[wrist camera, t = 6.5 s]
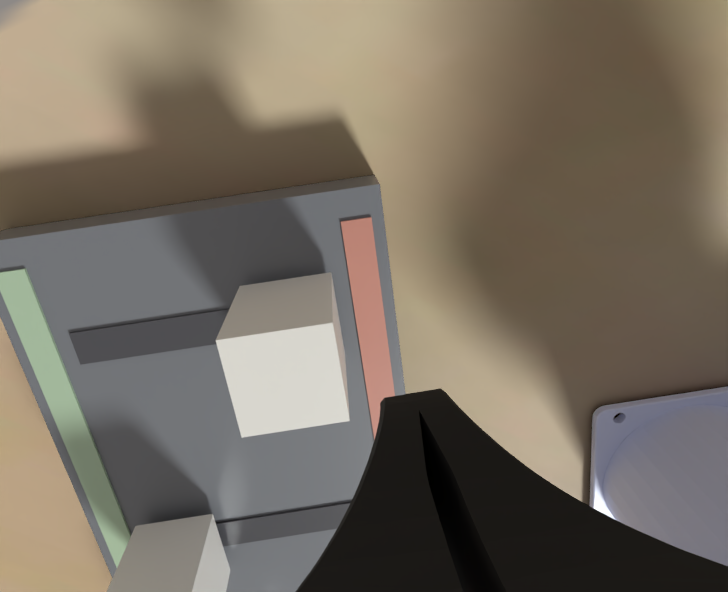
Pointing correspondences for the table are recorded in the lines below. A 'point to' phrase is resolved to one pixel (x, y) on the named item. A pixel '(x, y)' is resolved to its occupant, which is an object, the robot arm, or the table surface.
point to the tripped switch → (285, 356)
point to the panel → (201, 365)
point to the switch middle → (173, 558)
